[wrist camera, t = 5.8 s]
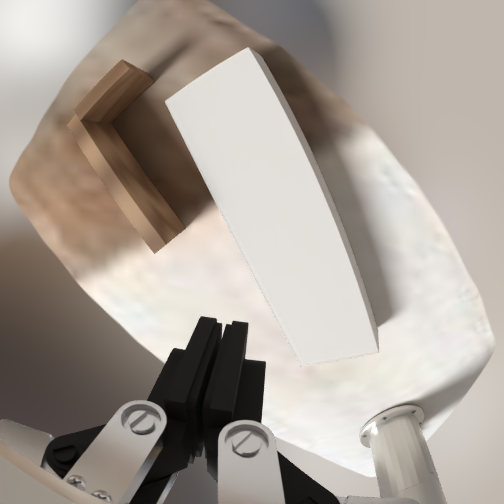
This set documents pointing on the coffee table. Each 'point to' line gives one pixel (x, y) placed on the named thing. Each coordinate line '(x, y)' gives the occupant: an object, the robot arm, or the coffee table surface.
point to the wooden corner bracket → (123, 154)
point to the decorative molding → (277, 208)
